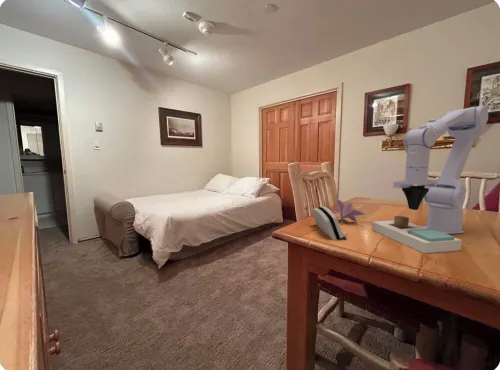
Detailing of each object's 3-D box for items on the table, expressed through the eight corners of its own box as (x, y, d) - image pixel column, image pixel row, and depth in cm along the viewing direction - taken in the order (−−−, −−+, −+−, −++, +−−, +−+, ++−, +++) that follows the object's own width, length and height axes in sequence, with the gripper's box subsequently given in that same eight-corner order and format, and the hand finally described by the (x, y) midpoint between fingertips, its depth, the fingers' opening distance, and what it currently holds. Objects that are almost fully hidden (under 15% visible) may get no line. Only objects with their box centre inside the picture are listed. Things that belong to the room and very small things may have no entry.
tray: (400, 227, 80) (401, 220, 80) (460, 250, 61) (461, 239, 60) (372, 229, 78) (372, 221, 78) (424, 253, 59) (425, 242, 59)
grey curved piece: (348, 240, 69) (339, 211, 68) (334, 245, 69) (325, 216, 68) (328, 224, 85) (320, 201, 84) (317, 228, 85) (309, 205, 84)
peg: (400, 232, 76) (401, 215, 75) (410, 236, 72) (412, 218, 71) (390, 232, 75) (391, 216, 75) (399, 236, 71) (401, 219, 71)
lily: (366, 230, 81) (370, 206, 83) (341, 220, 78) (345, 196, 81) (344, 230, 92) (348, 209, 95) (321, 221, 90) (326, 200, 92)
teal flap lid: (430, 228, 67) (455, 236, 60) (430, 231, 67) (455, 239, 60) (407, 229, 66) (429, 238, 59) (407, 232, 66) (429, 241, 59)
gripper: (423, 166, 74) (420, 205, 75) (386, 167, 71) (384, 207, 73) (445, 167, 67) (441, 210, 69) (405, 168, 64) (402, 212, 66)
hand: (413, 209), depth 70 cm, fingers closed
